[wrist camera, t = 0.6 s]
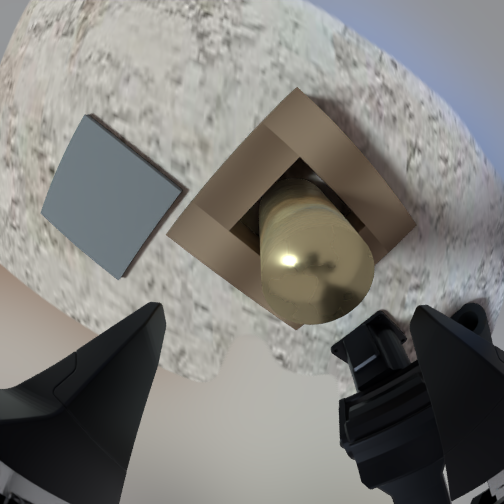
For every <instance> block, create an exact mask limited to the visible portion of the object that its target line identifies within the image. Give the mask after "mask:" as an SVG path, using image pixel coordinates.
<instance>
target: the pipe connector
mask: <svg viewBox="0 0 504 504" xmlns="http://www.w3.org/2000/svg"><path fill="white" fill-rule="evenodd" d="M451 319H452V320H454V321H456V322H457V323H459V324H461V325H462V326H464V327H466V328H467V329H469V330H470V331H472V332H474V333H475V334H477V335H479V336H480V337H482V338H483V339H485V340H487V341H488V342H490V343H491V344H493V343H492V338H491V333H490V329H489V325H488V321H487V317H486V313H485V311H484V309H483V308H482V307H481V306H480V305H478V304H475V303H468V304H465V305H464V306H463V307H462V308H461V309H459V310H458V311H457V312H456V313H455V314H454V315H453V316H452V317H451Z"/></svg>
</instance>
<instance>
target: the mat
mask: <svg viewBox="0 0 504 504" xmlns="http://www.w3.org/2000/svg"><path fill="white" fill-rule="evenodd" d="M182 191H183V190H182V189H181V188H180V187H178V186H177V185H176V184H175V183H173V182H172V181H171V180H170V179H168V178H167V177H166V176H165V175H163V174H162V173H161V172H160V171H158V170H157V169H156V168H155V167H153V166H152V165H151V164H150V163H148V162H147V161H146V160H145V159H143V158H142V157H141V156H140V155H138V154H137V153H136V152H135V151H133V150H132V149H131V148H129V147H128V146H127V145H126V144H124V143H123V142H122V141H121V140H119V139H118V138H117V137H116V136H114V135H113V134H112V133H111V132H109V131H108V130H107V129H106V128H104V127H103V126H102V125H101V124H99V123H98V122H97V121H96V120H94V119H93V118H92V117H90V116H89V115H84V117H83V118H82V120H81V122H80V124H79V125H78V127H77V129H76V131H75V133H74V135H73V137H72V139H71V141H70V143H69V145H68V147H67V149H66V151H65V153H64V155H63V157H62V160H61V162H60V164H59V166H58V169H57V171H56V173H55V176H54V178H53V180H52V183H51V185H50V188H49V191H48V193H47V196H46V199H45V202H44V204H43V207H42V210H41V214H42V215H43V216H44V217H45V218H46V219H47V220H48V221H49V222H50V223H52V224H53V225H54V226H55V227H56V228H57V229H58V230H59V231H60V232H61V233H62V234H63V235H65V236H66V237H67V238H68V239H69V240H70V241H71V242H72V243H74V244H75V245H76V246H77V247H78V248H79V249H81V250H82V251H83V252H84V253H85V254H86V255H88V256H89V257H90V258H91V259H92V260H94V261H95V262H96V263H97V264H99V265H100V266H101V267H102V268H103V269H105V270H106V271H107V272H109V273H110V274H111V275H112V276H114V277H115V278H116V279H117V280H119V279H120V278H121V277H122V275H123V273H124V272H125V270H126V269H127V267H128V266H129V264H130V263H131V261H132V260H133V258H134V257H135V255H136V254H137V252H138V251H139V249H140V248H141V246H142V245H143V243H144V242H145V241H146V239H147V238H148V236H149V235H150V233H151V232H152V231H153V229H154V228H155V226H156V225H157V224H158V222H159V221H160V220H161V218H162V217H163V215H164V214H165V213H166V211H167V210H168V209H169V207H170V206H171V205H172V203H173V202H174V201H175V200H176V198H177V197H178V196H179V194H180V193H181V192H182Z"/></svg>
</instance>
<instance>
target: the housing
mask: <svg viewBox="0 0 504 504" xmlns="http://www.w3.org/2000/svg"><path fill="white" fill-rule="evenodd" d="M298 158H300V159H302V160H303V161H304V162H305V163H306V164H307V165H308V166H309V167H310V168H311V169H312V170H313V171H314V172H315V173H316V174H317V175H318V176H319V177H320V178H321V179H322V180H323V181H324V182H325V183H326V184H327V185H328V186H329V187H330V188H331V189H332V190H333V192H334V193H335V194H336V195H337V196H338V197H339V198H340V199H341V200H342V201H343V202H344V203H345V204H346V205H347V206H348V208H349V209H350V210H351V212H350V213H349V214H348V215H347V216H346V217H345V219H346V220H347V221H348V222H349V223H350V224H351V226H352V227H353V228H354V229H355V230H356V232H357V233H358V234H359V235H360V237H361V238H362V239H363V240H364V242H365V243H366V244H367V245H368V247H369V249H370V251H371V253H372V256H373V260H374V265H376V264H377V263H378V262H379V261H380V260H381V259H382V258H383V257H384V256H385V255H386V254H387V253H388V252H390V251H391V250H392V249H393V248H394V247H395V246H396V245H397V244H398V243H399V242H400V241H401V240H402V239H403V238H404V237H405V236H406V235H407V234H408V233H409V232H410V231H411V230H412V229H413V228H414V227H415V226H416V223H415V222H414V220H413V219H412V217H411V216H410V214H409V213H408V212H407V210H406V209H405V207H404V206H403V204H402V203H401V202H400V200H399V199H398V198H397V196H396V195H395V193H394V192H393V191H392V189H391V188H390V187H389V186H388V184H387V183H386V182H385V180H384V179H383V178H382V177H381V175H380V174H379V173H378V172H377V170H376V169H375V168H374V167H373V165H372V164H371V163H370V162H369V161H368V159H367V158H366V157H365V156H364V155H363V154H362V152H361V151H360V150H359V149H358V148H357V147H356V146H355V144H354V143H353V142H352V141H351V140H350V139H349V138H348V137H347V136H346V135H345V133H344V132H343V131H342V130H341V129H340V128H339V127H338V126H337V125H336V124H335V123H334V122H333V121H332V120H331V119H330V118H329V117H328V116H327V115H326V114H325V113H324V112H323V111H322V110H321V109H320V108H319V107H318V106H317V105H316V104H315V103H314V102H313V101H312V100H311V99H310V98H309V97H307V96H306V95H305V94H304V93H303V92H302V91H301V90H300V89H299V88H298V87H297V88H295V89H294V90H293V91H292V92H291V93H290V94H289V95H288V96H287V97H286V98H285V99H284V100H283V101H281V102H280V103H279V104H278V105H277V106H276V107H275V108H274V110H273V111H272V112H271V113H270V114H269V115H268V116H267V117H266V118H265V119H264V120H263V121H262V122H261V123H260V124H259V125H258V126H257V127H256V128H255V129H254V130H253V131H252V132H251V133H250V134H249V136H248V137H247V138H246V139H245V140H244V141H243V142H242V143H241V144H240V145H239V146H238V148H237V149H236V150H235V151H234V152H233V153H232V154H231V155H230V156H229V158H228V159H227V160H226V161H225V162H224V163H223V164H222V166H221V167H220V168H219V169H218V170H217V171H216V172H215V174H214V175H213V176H212V177H211V178H210V180H209V181H208V182H207V183H206V184H205V185H204V187H203V188H202V189H201V190H200V191H199V193H198V194H197V195H196V196H195V198H194V199H193V200H192V201H191V202H190V204H189V205H188V206H187V207H186V209H185V210H184V211H183V212H182V214H181V215H180V216H179V218H178V219H177V220H176V222H175V223H174V224H173V226H172V227H171V228H170V230H169V231H168V233H167V234H166V235H167V236H168V237H169V238H171V239H172V240H173V241H174V242H176V243H177V244H178V245H180V246H181V247H182V248H184V249H185V250H186V251H187V252H189V253H190V254H191V255H193V256H194V257H195V258H197V259H198V260H199V261H201V262H202V263H203V264H205V265H206V266H207V267H209V268H210V269H211V270H213V271H214V272H215V273H217V274H218V275H219V276H221V277H222V278H223V279H225V280H226V281H228V282H229V283H230V284H232V285H233V286H234V287H236V288H237V289H238V290H240V291H241V292H243V293H244V294H245V295H247V296H248V297H250V298H251V299H252V300H254V301H255V302H257V303H258V304H259V305H261V306H262V307H264V308H265V309H266V310H268V311H269V312H271V313H272V314H273V315H275V316H276V317H278V318H279V319H281V320H282V321H284V322H285V323H286V324H288V325H289V326H291V327H292V328H294V329H295V330H297V329H299V328H300V327H301V326H303V325H304V324H299V323H295V322H292V321H289V320H287V319H284V318H283V317H281V316H280V315H278V314H277V313H276V312H274V311H273V309H272V308H271V307H270V306H269V304H268V303H267V301H266V299H265V297H264V294H263V291H262V284H261V256H260V237H259V236H257V235H256V234H255V233H254V232H253V231H251V230H250V229H249V228H248V227H247V226H245V225H244V224H243V223H242V222H240V221H239V219H240V218H241V217H242V216H243V215H244V214H245V213H246V212H247V211H248V210H249V209H250V208H251V207H252V206H253V205H254V204H255V202H256V201H257V200H258V199H259V198H260V197H261V196H262V195H263V194H264V193H265V192H266V191H267V190H268V189H269V188H270V187H271V186H272V185H273V184H274V183H275V182H276V181H277V180H278V178H279V177H280V176H281V175H282V174H283V173H284V172H285V171H286V170H287V169H288V168H289V167H290V166H291V165H292V164H293V163H294V162H295V161H296V160H297V159H298Z"/></svg>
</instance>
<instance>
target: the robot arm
mask: <svg viewBox="0 0 504 504" xmlns="http://www.w3.org/2000/svg"><path fill="white" fill-rule="evenodd" d="M379 316H380V317H379ZM165 330H166V320H165V315H164V310H163V306H162V304H161V303H158V302H149V303H147V304H146V305H144V306H143V307H141V308H140V309H138V310H137V311H135V312H134V313H132V314H130V315H129V316H127V317H126V318H124V319H123V320H121V321H120V322H118V323H117V324H115V325H114V326H112V327H111V328H109V329H108V330H106V331H105V332H103V333H102V334H100V335H99V336H97V337H96V338H94V339H93V340H91V341H90V342H88V343H87V344H85V345H84V346H82V347H81V348H79V349H78V350H77V351H76V352H73V353H72V354H70V355H69V356H67V357H66V358H64V359H62V360H61V361H60V362H58V363H56V364H55V365H53V366H51V367H49V368H48V369H46V370H44V371H43V372H41V373H39V374H37V375H35V376H34V377H32V378H30V379H28V380H26V381H24V382H22V383H21V384H19V385H17V386H15V387H12V388H8V389H0V504H119V502H120V497H121V493H122V488H123V485H124V480H125V477H126V472H127V468H128V464H129V460H130V456H131V453H132V449H133V445H134V442H135V438H136V435H137V431H138V428H139V425H140V421H141V418H142V414H143V411H144V408H145V404H146V401H147V398H148V395H149V392H150V389H151V386H152V382H153V379H154V376H155V373H156V370H157V367H158V363H159V358H160V353H161V349H162V344H163V339H164V335H165ZM410 332H411V335H412V339H413V343H414V347H415V351H416V355H417V360H416V361H414V362H413V363H411V362H410V360H409V358H408V356H407V354H406V352H405V350H404V348H403V346H402V344H403V343H404V342H406V340H407V338H406V336H405V335H404V333H403V332H402V331H401V330H400V329H399V328H398V327H397V326H396V325H395V324H394V323H393V322H392V321H391V320H390V319H389V318H388V317H387V316H386V315H385V314H384V313H383V312H382V311H378V312H376V313H375V314H374V315H373V316H371V317H370V318H369V319H368V320H366V321H365V322H364V323H363V324H361V325H360V326H359V327H357V328H356V329H355V330H354V331H352V332H351V333H350V334H348V335H347V336H346V337H344V338H343V339H341V340H340V341H339V342H337V343H336V344H335V345H333V346H332V347H331V353H332V354H334V355H335V356H337V357H338V358H340V359H341V360H343V361H344V362H346V363H348V364H349V367H350V370H351V374H352V377H353V380H354V384H355V387H356V390H357V393H356V394H354V395H352V396H349V397H347V398H343V399H341V400H339V425H340V426H339V427H340V446H341V447H342V448H344V449H345V450H346V452H347V454H348V456H349V457H350V458H351V459H353V460H355V461H356V463H357V467H358V470H359V474H360V478H361V482H362V483H363V484H364V485H366V486H367V487H368V488H369V489H374V488H379V489H380V490H382V491H383V492H385V493H387V494H388V495H390V496H391V497H392V499H393V502H394V504H452V502H451V501H453V500H455V499H457V498H459V497H461V496H463V495H465V494H466V493H468V492H470V491H472V490H473V489H475V488H477V487H478V486H480V485H482V484H483V483H485V482H486V481H487V482H488V485H489V488H488V489H487V490H486V491H484V492H482V493H481V494H479V495H478V496H476V497H475V498H473V499H472V501H471V504H504V351H503V350H501V349H499V348H498V347H496V346H494V345H493V344H491V343H490V342H488V341H487V340H485V339H483V338H482V337H480V336H479V335H477V334H475V333H474V332H472V331H470V330H469V329H467V328H466V327H464V326H462V325H461V324H459V323H457V322H456V321H454V320H452V319H451V318H449V317H447V316H445V315H444V314H442V313H440V312H439V311H437V310H435V309H433V308H432V307H430V306H428V305H419V306H417V308H416V310H415V312H414V315H413V317H412V319H411V322H410ZM335 349H336V350H335ZM445 465H446V471H447V478H448V485H449V491H448V488H447V484H446V481H445V478H444V474H443V470H444V467H445ZM449 493H450V495H449Z"/></svg>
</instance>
